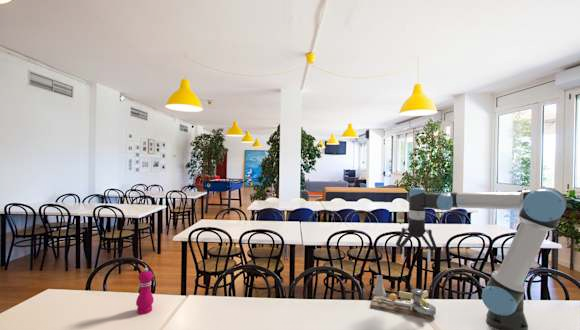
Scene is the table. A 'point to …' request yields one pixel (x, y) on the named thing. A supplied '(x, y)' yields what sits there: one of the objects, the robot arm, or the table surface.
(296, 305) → the table surface
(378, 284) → the flask
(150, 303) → the pepper mill
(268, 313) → the table surface
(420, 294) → the cam capstan
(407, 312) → the board
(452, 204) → the robot arm
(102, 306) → the table surface
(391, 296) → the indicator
